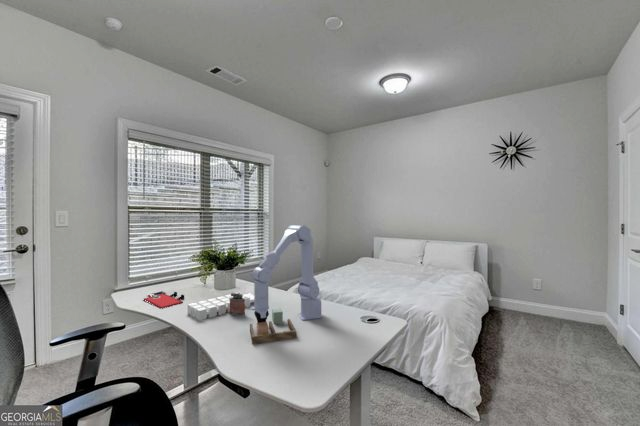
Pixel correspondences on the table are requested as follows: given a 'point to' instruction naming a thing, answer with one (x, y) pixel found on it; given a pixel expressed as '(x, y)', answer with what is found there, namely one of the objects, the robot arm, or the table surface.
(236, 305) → the red printed tin
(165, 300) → the red board with handle
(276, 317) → the sage block
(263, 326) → the terracotta block
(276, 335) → the rack
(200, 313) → the organizer
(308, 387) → the table surface
